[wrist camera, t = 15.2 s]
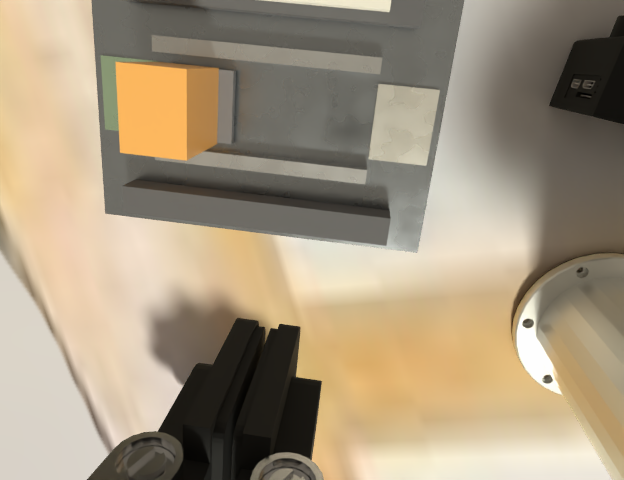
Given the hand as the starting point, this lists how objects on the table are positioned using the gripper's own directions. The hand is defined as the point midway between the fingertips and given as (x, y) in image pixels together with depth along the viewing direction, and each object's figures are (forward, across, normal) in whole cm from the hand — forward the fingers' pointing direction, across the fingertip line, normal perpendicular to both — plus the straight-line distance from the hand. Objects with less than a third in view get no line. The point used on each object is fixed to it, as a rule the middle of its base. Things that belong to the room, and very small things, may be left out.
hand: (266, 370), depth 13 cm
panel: (+25, +5, -4) cm, 26 cm away
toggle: (+23, +10, -4) cm, 25 cm away
